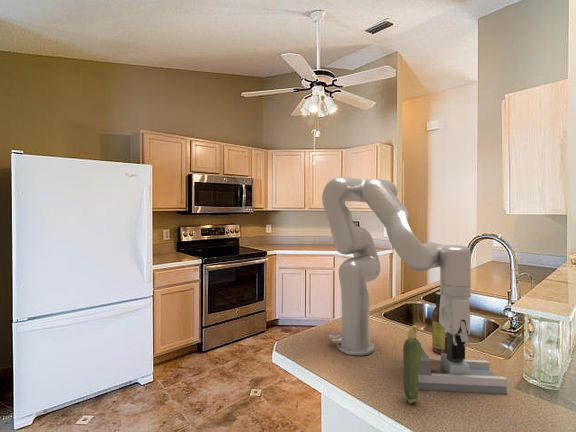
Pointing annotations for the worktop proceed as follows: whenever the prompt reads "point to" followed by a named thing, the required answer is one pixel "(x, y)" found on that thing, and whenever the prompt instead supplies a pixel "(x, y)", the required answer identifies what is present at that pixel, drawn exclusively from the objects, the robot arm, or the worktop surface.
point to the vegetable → (411, 364)
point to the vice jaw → (453, 360)
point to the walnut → (435, 366)
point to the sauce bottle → (438, 329)
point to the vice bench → (461, 378)
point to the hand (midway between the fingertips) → (454, 354)
